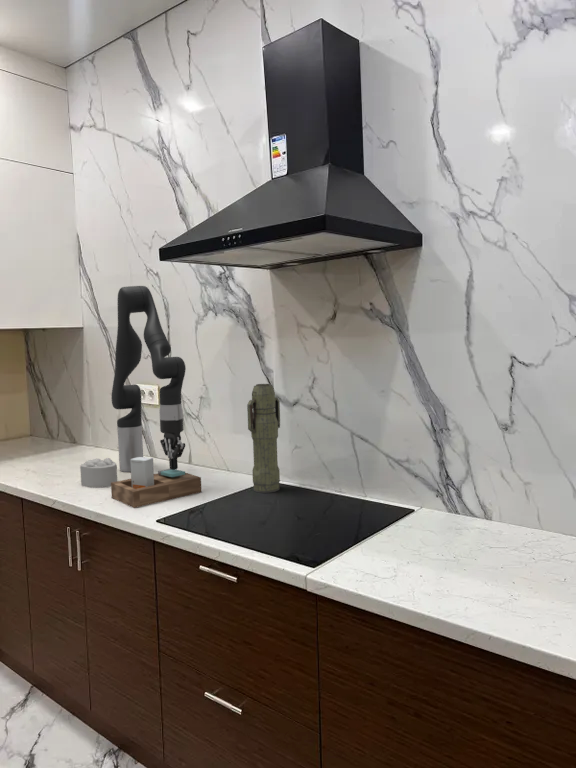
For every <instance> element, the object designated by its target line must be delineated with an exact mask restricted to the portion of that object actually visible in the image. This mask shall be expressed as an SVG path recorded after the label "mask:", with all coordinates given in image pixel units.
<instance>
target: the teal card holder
mask: <svg viewBox="0 0 576 768" xmlns="http://www.w3.org/2000/svg"><path fill="white" fill-rule="evenodd" d="M157 473H158V475H159V476H160V475H164V476H169V477H175V476H180V475H185V473H186V471H185V470H179V469H175V470H171V469H170V468H166V469H162V470H158V471H157Z"/></svg>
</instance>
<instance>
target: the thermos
mask: <svg viewBox="0 0 576 768" xmlns="http://www.w3.org/2000/svg"><path fill="white" fill-rule="evenodd" d="M280 402H281V401H280V399H279V398H278V397H276V392H275V390H274V387H273V384H270V383H257V384H255V385H253V387H252V392H251V399H250V400H248V402H247V405H246V407H247V430H248V431H249V432H250V433H251V435H250V436H251V439H252V447H253V448H252V450H253V451H252V452H253V467H252V471H251V472H252V483H253V491H254V492H256V493H262V494H268V493H269V494H270V493H275V492H278V491H280V482H281V480H280V479H281V478H280V476H281V475H280V473H281V472H280V468H279V467H280V466H279V464H278V437H279V429H280V428H281V412H280V411H281V409H280V407H281V406H280Z"/></svg>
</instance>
